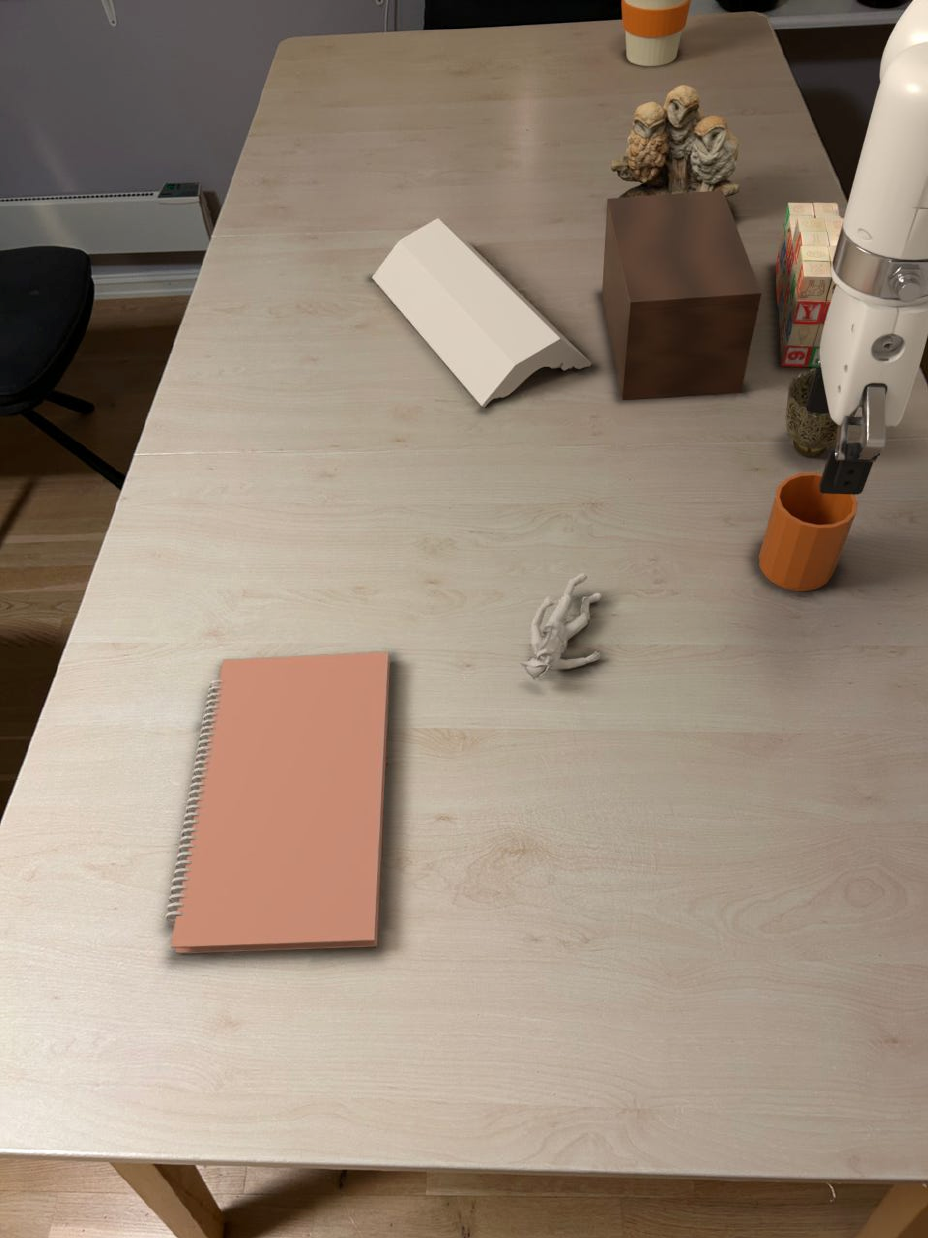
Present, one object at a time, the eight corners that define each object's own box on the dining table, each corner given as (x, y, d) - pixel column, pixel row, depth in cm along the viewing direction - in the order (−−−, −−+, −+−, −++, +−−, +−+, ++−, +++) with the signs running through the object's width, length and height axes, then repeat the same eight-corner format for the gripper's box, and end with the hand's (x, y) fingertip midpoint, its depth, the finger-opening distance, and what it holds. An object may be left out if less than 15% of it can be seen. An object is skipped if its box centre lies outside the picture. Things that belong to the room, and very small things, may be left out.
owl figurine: (603, 231, 134) (609, 107, 120) (613, 190, 141) (621, 68, 127) (731, 239, 130) (753, 111, 117) (736, 196, 137) (757, 71, 124)
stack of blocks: (773, 268, 125) (792, 177, 116) (821, 269, 124) (845, 178, 115) (781, 367, 112) (803, 274, 103) (835, 369, 111) (863, 276, 102)
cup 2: (822, 535, 95) (845, 470, 88) (841, 589, 91) (867, 525, 84) (751, 539, 96) (768, 474, 89) (767, 593, 91) (786, 529, 84)
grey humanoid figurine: (621, 618, 92) (592, 689, 82) (582, 638, 95) (550, 708, 85) (574, 557, 90) (539, 623, 81) (536, 579, 93) (498, 645, 83)
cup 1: (852, 438, 104) (872, 379, 98) (832, 479, 100) (851, 421, 94) (786, 418, 107) (802, 360, 100) (764, 458, 103) (779, 400, 97)
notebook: (216, 670, 90) (211, 658, 88) (390, 661, 89) (387, 649, 88) (163, 954, 73) (155, 946, 71) (377, 947, 72) (373, 938, 71)
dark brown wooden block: (707, 287, 124) (723, 189, 113) (741, 392, 110) (761, 292, 100) (601, 294, 124) (607, 198, 114) (622, 400, 111) (630, 301, 100)
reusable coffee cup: (649, 35, 175) (657, -60, 163) (701, 53, 168) (713, -45, 157) (602, 57, 170) (606, -40, 158) (653, 76, 164) (662, -23, 152)
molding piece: (419, 310, 137) (372, 277, 130) (469, 244, 133) (423, 206, 126) (529, 436, 118) (481, 406, 111) (591, 363, 115) (546, 327, 107)
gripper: (981, 333, 57) (897, 528, 70) (929, 189, 67) (864, 383, 81) (853, 332, 58) (794, 524, 71) (821, 190, 68) (775, 381, 82)
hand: (832, 449), depth 76 cm, fingers open, 9 cm apart
